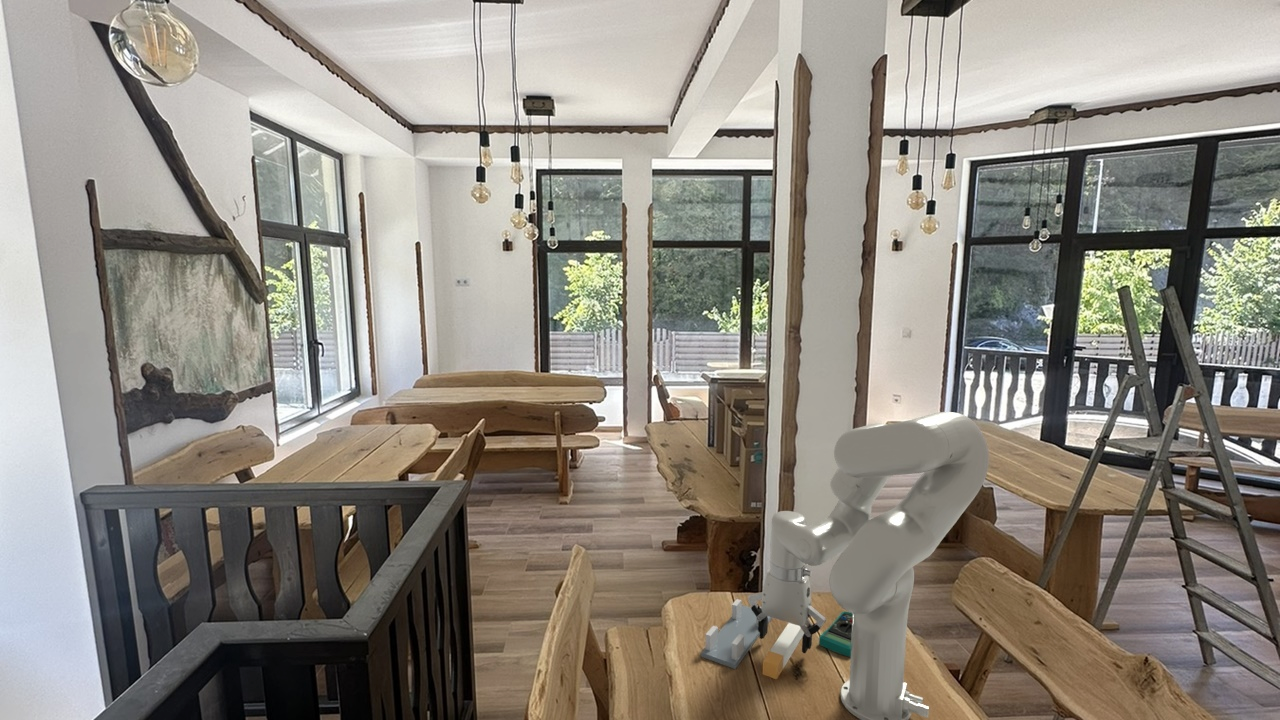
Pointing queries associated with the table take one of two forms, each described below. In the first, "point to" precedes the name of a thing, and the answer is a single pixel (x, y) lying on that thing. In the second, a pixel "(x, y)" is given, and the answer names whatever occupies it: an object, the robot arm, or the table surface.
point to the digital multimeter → (839, 635)
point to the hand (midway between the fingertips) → (784, 642)
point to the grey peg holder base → (732, 637)
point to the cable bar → (782, 650)
